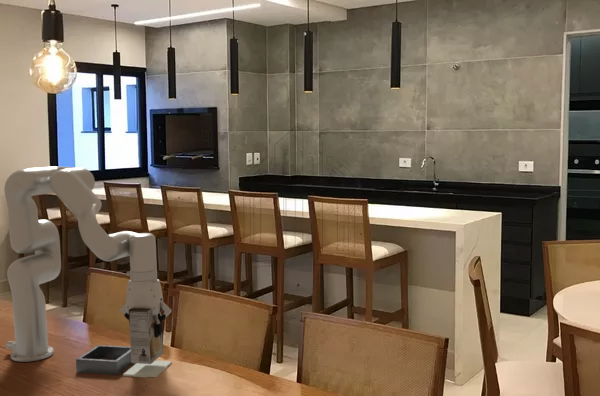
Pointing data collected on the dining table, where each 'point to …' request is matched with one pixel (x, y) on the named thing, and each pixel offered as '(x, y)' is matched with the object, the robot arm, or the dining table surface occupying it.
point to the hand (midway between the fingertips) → (146, 335)
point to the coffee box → (144, 337)
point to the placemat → (147, 369)
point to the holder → (95, 365)
